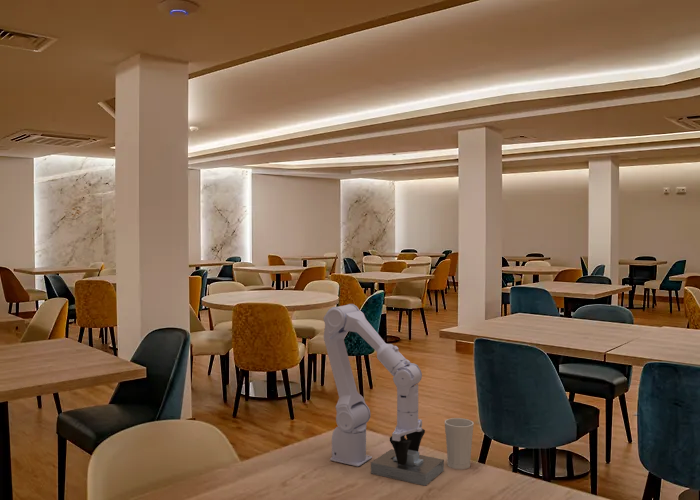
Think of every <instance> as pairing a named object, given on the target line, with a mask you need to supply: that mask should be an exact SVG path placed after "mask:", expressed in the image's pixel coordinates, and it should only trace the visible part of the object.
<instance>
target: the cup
mask: <svg viewBox="0 0 700 500" xmlns="http://www.w3.org/2000/svg"><path fill="white" fill-rule="evenodd" d="M474 424H475V423H474V421H472V420H470V419H467V418H463V417H451V418H447V419H445V420H444V432H445V433H444V434H445V439H446V440H445V441H446V442H445V443H446V456H447V459H446V462H447V464H446V465H447V467H449V468H450V469H454V470H466V469H469V468H471V459H472V458H471V457H472V447H473V446H472V445H473V434H474V433H473V432H474Z"/></svg>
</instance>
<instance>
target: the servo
mask: <svg viewBox="0 0 700 500" xmlns="http://www.w3.org/2000/svg"><path fill="white" fill-rule="evenodd" d="M419 455H420V451H419V450H418V451H413V450H408V453H407V462H406V464H407V465H412V466H415V465H416V466H418V465H420V464H421V463H423V459H419ZM393 461H397V458H396V457H394V458H393Z"/></svg>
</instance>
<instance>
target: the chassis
mask: <svg viewBox="0 0 700 500" xmlns="http://www.w3.org/2000/svg"><path fill="white" fill-rule="evenodd" d="M394 457H396V454H395V450H394V448H393V449H392V448H391V449H390V450H388V451H386V452H384V453H383V454H381V455H380V456H378V457H377V458H376V459H374V460H372V461H371V462H370V474H372V475H376V476H382V477H384V478H388V479H389V478H390V479H393V480H398V481H402V482H408V483H411V484H415V485H420V486H427V485H429V484H430V483H431V482H432V481H433V480H435V479H436V477H438V476H440V474H441V473H443V472H444V471H445V460H444V459H442V458H437V457H432V456H427V455H421V454H419V459H423V463H421V464H420V465H418V466H416V465H415V466H412V465H407V464H406V465H401V464H398V462H397V461H393V458H394Z"/></svg>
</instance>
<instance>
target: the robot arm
mask: <svg viewBox="0 0 700 500" xmlns="http://www.w3.org/2000/svg"><path fill="white" fill-rule="evenodd" d="M323 322H324V330H323V331H324V332H323V341H324V345H325V348H326V353H327V356H328V360H329V364H330V368H331V371H332V375H333V379H334V383H335V387H336V390H337V395H338V399H337V403H336V405H335V410H336V416H335V423H336V425H337V426H336V427H335V428H334V430H333V431H332V435H331V457H330V458H329V461H332V462H336V463H341V464H345V465H350V466H353V467H360V466H362V465H364V464H365V463H367V462H368V461H370V460H371V459H372V458H373V456H372V455H368V454H367V423H368V422H369V421H370V420H371V410H370V408H369V406H368V405H367V403H366V401H365V397H364V396H362V394H360V392H358V388H357V385H356V382H355V377H354V374H353V370H352V366H351V363H350V358H349V354H348V351H347V350H348V349H347V347H346V344H345V338H346V336H347V335H348V333H349V332H352V333H357V334H358V335H359V336H360V337H361V338H362V339H363V340H364V341H365V342H366V343H367V344H368V345H369V346H370V347H371V348H372V349H374V350H375V352H376V358H377V360H378V361H379V362H380V363H381V364H382V365H383V367H384V368H385V369H386V370H387V371H388V372H389V374H390V375H392V376H393V377H392V380H393V383H394V385H395V387H396V403H397V404H396V426H395V428H394V431H393V432H392V433H391V435H392V436H390V437H389V442H390V444H391V445H392V447H393V450H395V454H396V458H397V462H398V464H401V465H406V462H407V453H408V450H413V451H418V452H419V449H420V445H421V442H422V439H423V437H424V435H425V433H426V430H425V429H424V428H423V420H422V419H419V383H420V382H421V381H422V378H423V373H422V370H421V368H420V366H419V365H418V364H416V363H414V362H413V363H412V362H411V361H410V360H409V359H407V358H406V357H405V356H404V355H403V354H402V353H401V352H400V350H399V349H400V348H399V347H398V346H397V345H394V344H392V343H386V342H385V340H384V338H382V337H381V335H380V334H379V333H378V332H377V331H376V329H375V328H374V327H373V326H372V324H371V323H370V322H369V321H368V320H367V318H366V316H365V313H364V312H362V311H361V310H360V309H359V307H358V306H357V305H355V304H354V303H348V304H345V305H340V306H333V307H330V308H329V309H328V310H327V312H326V313H325V315H324V316H323Z"/></svg>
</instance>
